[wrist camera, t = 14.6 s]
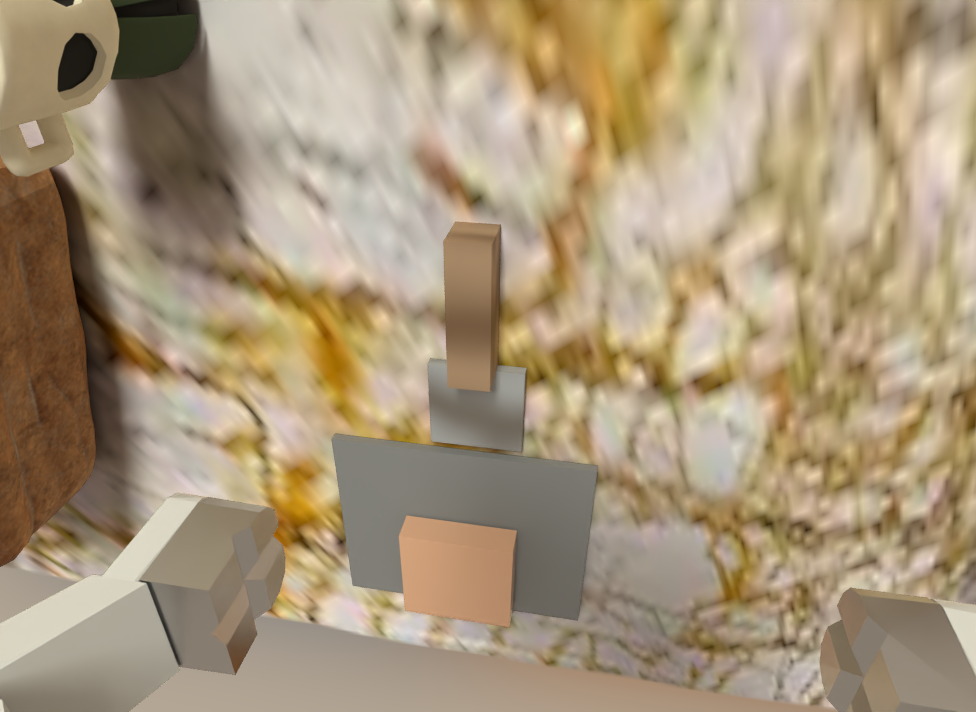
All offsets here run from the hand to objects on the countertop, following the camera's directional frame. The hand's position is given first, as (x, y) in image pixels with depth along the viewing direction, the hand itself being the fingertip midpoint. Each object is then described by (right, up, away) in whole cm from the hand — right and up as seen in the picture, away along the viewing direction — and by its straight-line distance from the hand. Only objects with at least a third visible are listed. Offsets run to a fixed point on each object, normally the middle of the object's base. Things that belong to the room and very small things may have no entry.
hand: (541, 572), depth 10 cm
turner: (-1, +4, +30) cm, 31 cm away
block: (-3, -9, +37) cm, 38 cm away
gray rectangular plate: (-3, -9, +39) cm, 40 cm away
